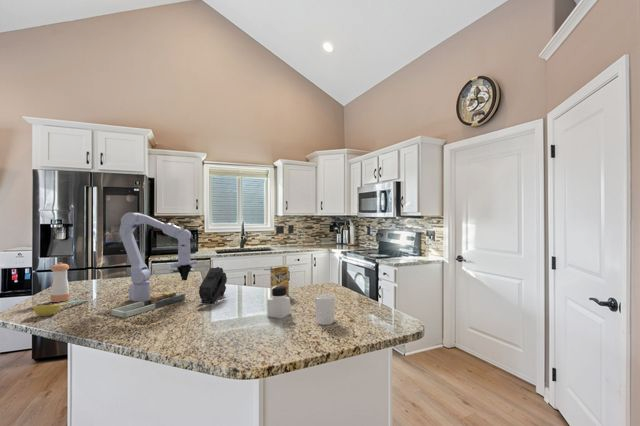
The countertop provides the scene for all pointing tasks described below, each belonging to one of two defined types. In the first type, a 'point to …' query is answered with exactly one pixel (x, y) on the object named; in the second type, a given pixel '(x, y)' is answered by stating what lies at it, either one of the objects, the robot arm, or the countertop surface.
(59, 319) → the countertop surface
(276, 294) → the medicine bottle
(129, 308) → the tray
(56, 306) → the ladle
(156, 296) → the copper block
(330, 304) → the white cup
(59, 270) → the pepper shaker
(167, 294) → the brass block
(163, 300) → the rail
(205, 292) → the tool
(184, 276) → the robot arm
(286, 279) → the candy box
